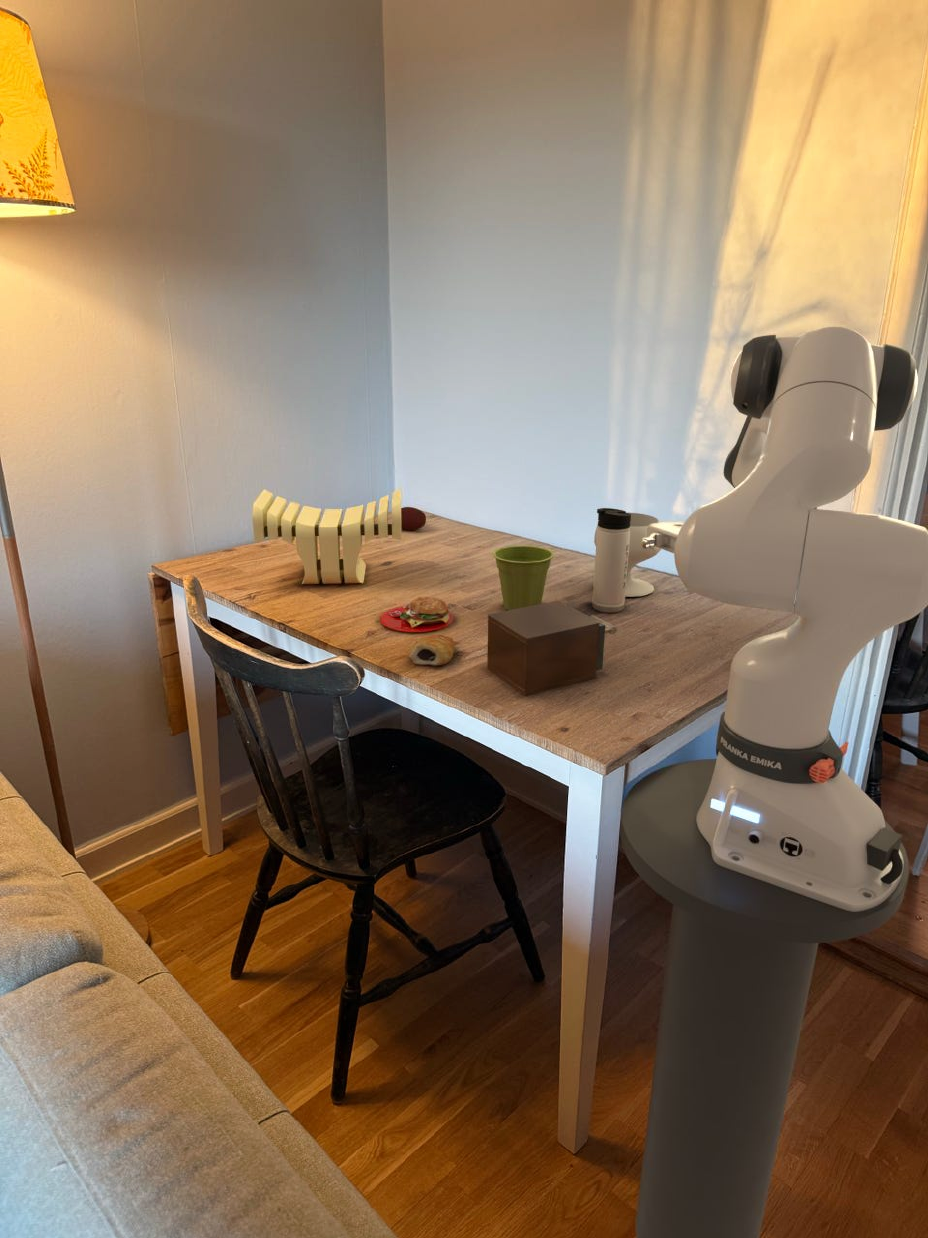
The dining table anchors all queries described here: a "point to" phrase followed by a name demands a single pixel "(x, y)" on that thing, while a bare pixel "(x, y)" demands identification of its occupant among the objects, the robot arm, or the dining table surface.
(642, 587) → the chalice
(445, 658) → the pastry
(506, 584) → the plant pot
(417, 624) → the hamburger
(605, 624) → the drawer
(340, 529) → the slatted curved stool
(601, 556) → the travel mug
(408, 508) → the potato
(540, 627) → the cabinet
